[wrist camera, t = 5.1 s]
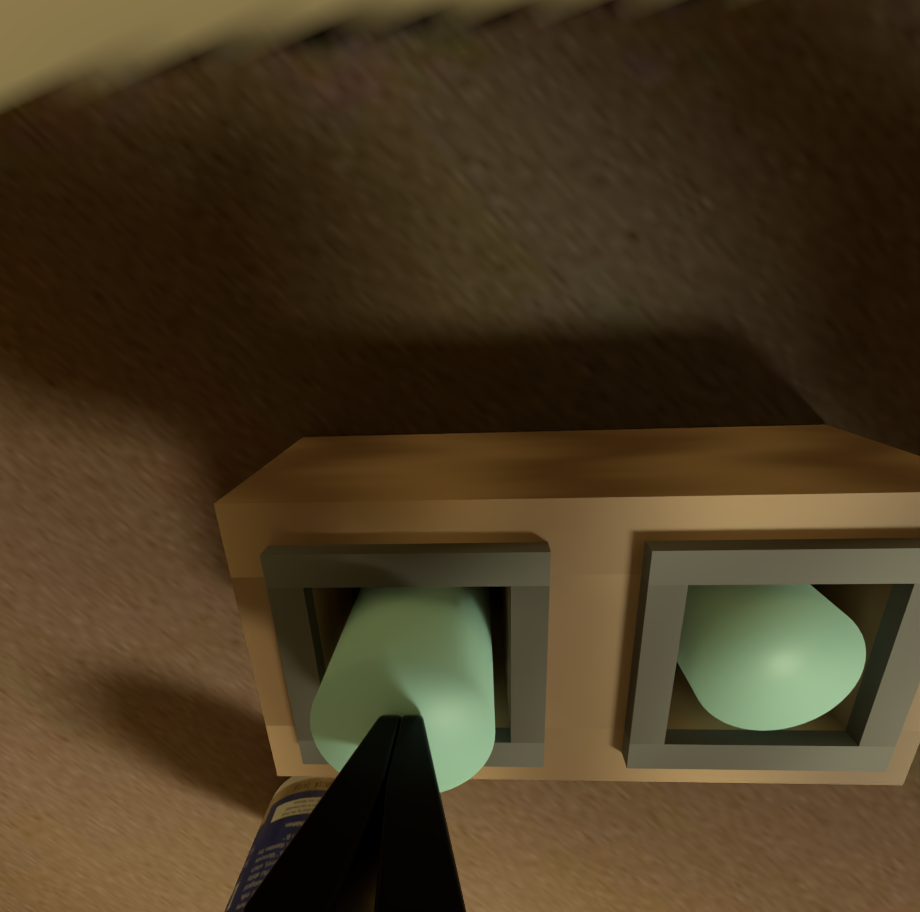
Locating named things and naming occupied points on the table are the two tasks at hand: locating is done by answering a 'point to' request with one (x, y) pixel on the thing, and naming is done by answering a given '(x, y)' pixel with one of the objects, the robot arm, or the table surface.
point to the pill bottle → (277, 832)
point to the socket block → (592, 585)
